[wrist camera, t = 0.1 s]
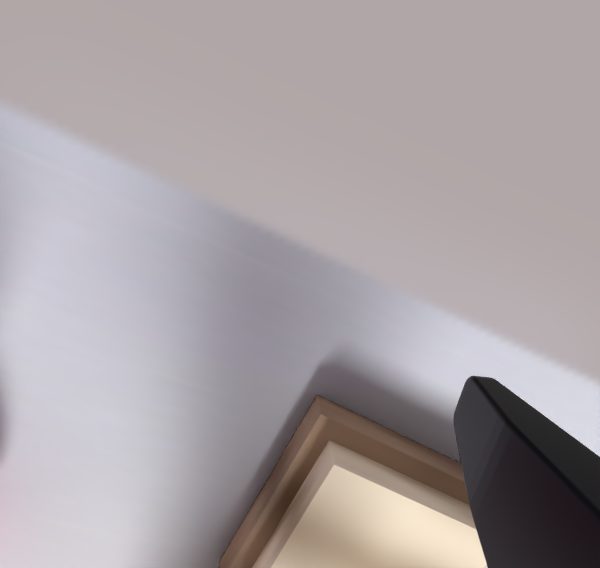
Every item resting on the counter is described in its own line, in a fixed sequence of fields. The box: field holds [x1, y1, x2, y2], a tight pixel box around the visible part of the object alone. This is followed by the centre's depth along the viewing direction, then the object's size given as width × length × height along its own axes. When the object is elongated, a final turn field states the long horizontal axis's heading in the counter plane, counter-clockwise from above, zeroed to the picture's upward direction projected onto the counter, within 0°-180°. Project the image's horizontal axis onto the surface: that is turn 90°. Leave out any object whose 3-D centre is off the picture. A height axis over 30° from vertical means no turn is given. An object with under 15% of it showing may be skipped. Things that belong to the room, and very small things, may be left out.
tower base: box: [219, 395, 487, 568], centre depth 26 cm, size 11×11×4 cm
